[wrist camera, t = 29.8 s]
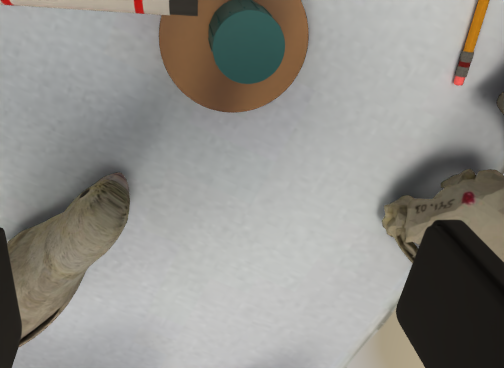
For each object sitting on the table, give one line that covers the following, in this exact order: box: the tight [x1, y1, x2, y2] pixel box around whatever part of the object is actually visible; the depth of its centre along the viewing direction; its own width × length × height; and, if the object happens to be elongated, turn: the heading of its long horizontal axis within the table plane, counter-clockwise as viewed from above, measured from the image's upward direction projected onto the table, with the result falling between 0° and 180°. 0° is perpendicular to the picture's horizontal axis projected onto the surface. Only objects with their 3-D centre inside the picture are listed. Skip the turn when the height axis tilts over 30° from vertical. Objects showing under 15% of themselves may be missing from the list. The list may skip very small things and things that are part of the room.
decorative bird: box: [7, 172, 130, 347], centre depth 30 cm, size 5×16×8 cm, turn 133°
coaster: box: [159, 0, 308, 112], centre depth 27 cm, size 9×9×1 cm
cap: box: [208, 0, 285, 84], centre depth 25 cm, size 4×4×4 cm
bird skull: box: [382, 169, 504, 263], centre depth 36 cm, size 25×14×10 cm, turn 52°
